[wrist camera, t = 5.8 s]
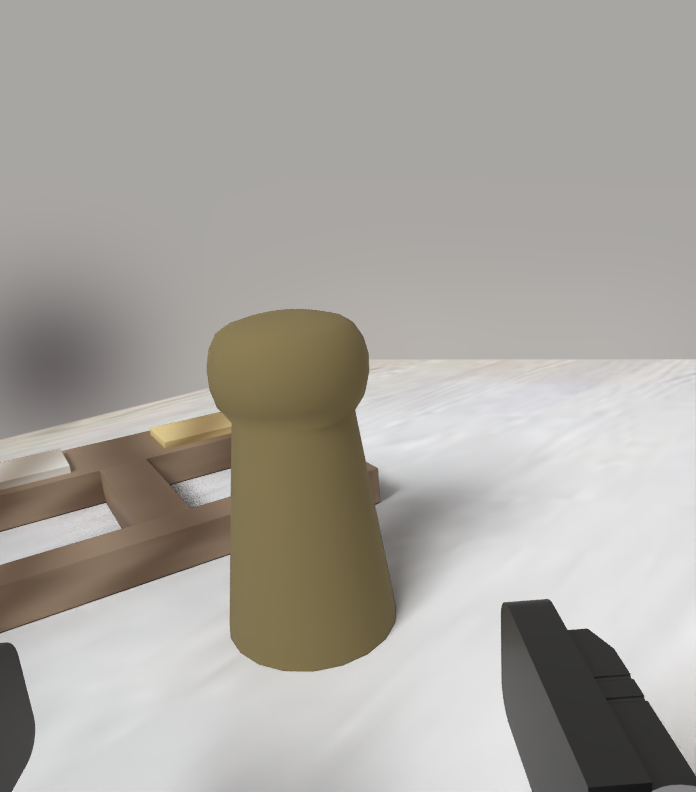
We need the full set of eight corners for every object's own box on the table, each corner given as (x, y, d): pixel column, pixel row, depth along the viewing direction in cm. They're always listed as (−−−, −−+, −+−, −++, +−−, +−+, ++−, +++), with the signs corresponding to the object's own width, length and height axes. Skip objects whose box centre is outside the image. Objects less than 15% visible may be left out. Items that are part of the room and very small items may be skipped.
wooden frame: (-103, 667, 22) (-121, 612, 22) (-87, 519, 34) (-99, 480, 33) (379, 502, 32) (377, 460, 31) (263, 430, 43) (259, 399, 43)
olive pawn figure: (376, 682, 20) (352, 330, 17) (199, 659, 22) (147, 334, 18) (409, 575, 25) (395, 296, 22) (266, 563, 27) (235, 301, 24)
